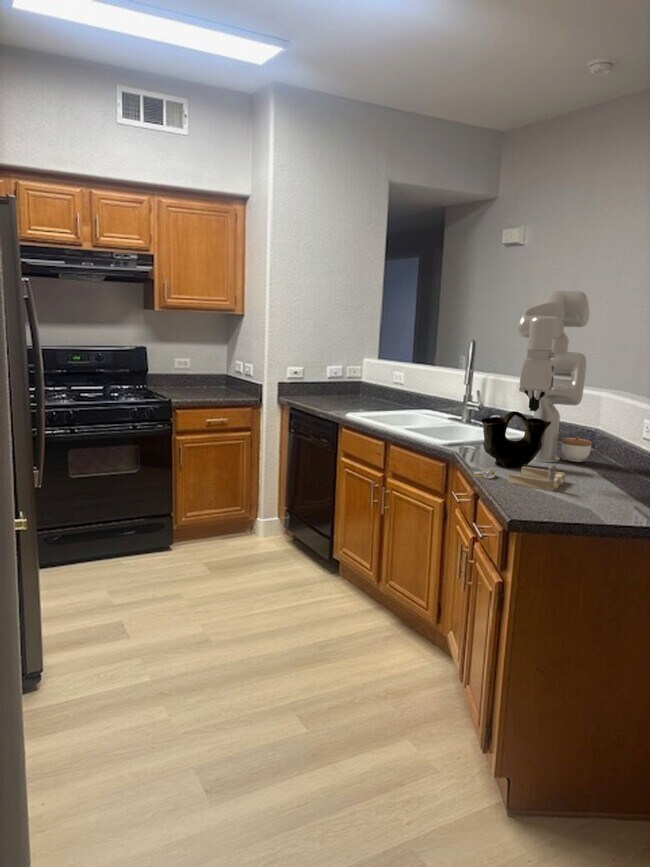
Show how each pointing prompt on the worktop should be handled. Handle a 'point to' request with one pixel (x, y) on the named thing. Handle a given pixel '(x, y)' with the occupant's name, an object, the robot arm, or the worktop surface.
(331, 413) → the worktop surface
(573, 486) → the worktop surface
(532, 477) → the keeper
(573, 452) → the lidded jar
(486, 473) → the ring
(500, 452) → the pottery vessel
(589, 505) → the worktop surface
